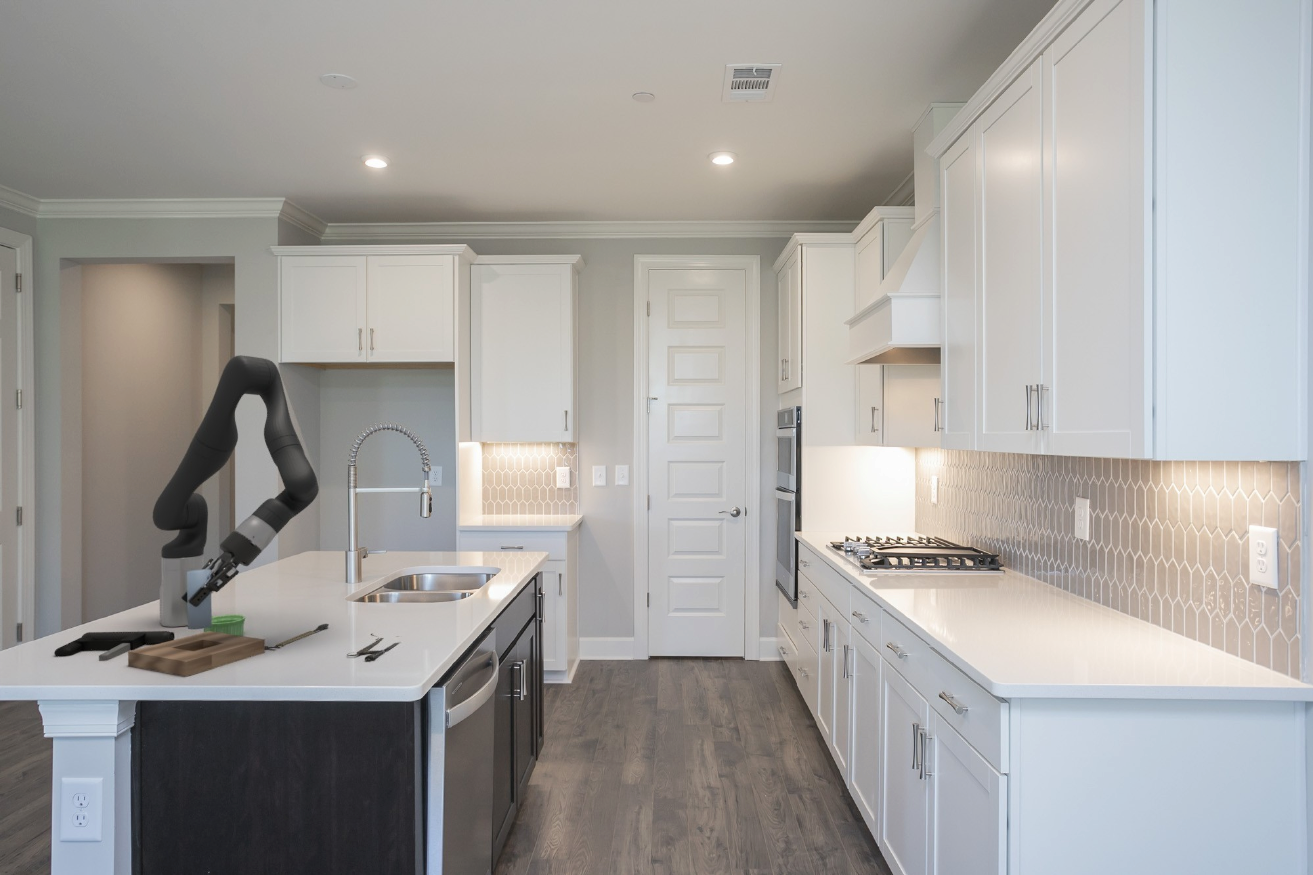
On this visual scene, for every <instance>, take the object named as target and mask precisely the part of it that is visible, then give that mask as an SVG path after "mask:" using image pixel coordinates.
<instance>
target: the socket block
mask: <svg viewBox="0 0 1313 875" xmlns="http://www.w3.org/2000/svg"><path fill="white" fill-rule="evenodd" d="M265 640H266V639H264V638H258V637H251V636H244V635H242V636H238V635H232V634H225V633H218V632H211V631H208V632H204V631H203V632H200V633H197V634H193V635H188V636H185V637H181V638H177V639H174V640H172V641H168V642H164V643H160V644H151V645H148V646H145V647H144V646H143V647H139V648H137V649H135V650H130V651H128V652H127V655H128V658H127V666H128V667H132V668H137V669H143V670H148V671H149V670H150V671H153V672H159V673H165V674H169V675H175V676H180V677H190V676H192V675H196V674H200V673H203V672H207V671H209V670H213V669H215V668H218V667H222V666H225V665H228V664H232V663H235V662H240V661H243V660H247V659H248V658H249V659H250V658H252V657H255V656H259V655H262V654H265V651H266V650H265V646H266V644H265V642H266V641H265Z"/></svg>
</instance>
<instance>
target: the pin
mask: <svg viewBox="0 0 1313 875" xmlns="http://www.w3.org/2000/svg"><path fill="white" fill-rule="evenodd" d="M210 572H211V570H210V569H201V570H192V571H188V572H187V599H188V600H189V599H190V598H191V597H192V596H193V595H194V594H195V593H196V592H197V590H198V589H199V588H200V587H202V585H203V584H204V583H205V582H206V580H207V579H208V574H209V573H210ZM202 588H203V587H202ZM212 611H213V610H212V594H211V593H210V594H209V595H208V596H207V597H206V598H205V599H204V600H203V602H202V603H201V604H200V605H199V606H198V607H194V606H193V605H191V604H190V603H189V602H188V625H187V630H200V629H201V630H202V629H203V630H204V628H208V627H210V626H212V617H213V614H212V613H213V612H212Z"/></svg>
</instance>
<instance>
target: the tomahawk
mask: <svg viewBox="0 0 1313 875" xmlns="http://www.w3.org/2000/svg"><path fill="white" fill-rule="evenodd" d="M328 627H329V623H323V624H320V625H318V626H317V627H316V628H315V629H314V630H309V631H306V632H304V633H301V634H300V635H299V634H298V635H297V636H294V637H292V638H289V639H287V640H284V641H282V642H280V643H277V644H275V645H274V646H269V645H268V646H267V645H265V651H271V652H272V651H273V652H274V651H276V649H281V648H283V647H285V646H286V645H288V644H291V643H294V642H296V641H298V640H301V639H305V638H307V637H309V636H312V635H314V634H317V633H319V632H322V631H323V630H324V629H326V628H328Z"/></svg>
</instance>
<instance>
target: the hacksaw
mask: <svg viewBox="0 0 1313 875" xmlns="http://www.w3.org/2000/svg"><path fill="white" fill-rule="evenodd" d="M370 636H371V637H375V635H374V633H370ZM396 637H397V638H398V637H401V636H399V635H398V636H396ZM383 640H384V637H378V638H376V639H375V641H373V642H372V643H370V644H369V645H367V646H365V647H363V648H361V649H360V650H358V651H357V652H356V654H353V653H355V652H354V651H353V652H352V654H351V652H349V653H347V654H346V656H348V657H356V656H361V655H366V656H365V657H364V661H365V662H374V661H376V659H378V658H380V656H382V655H384V654H385V653H386V652H388V651H389V650H390V649H393V648H394V647H396V646H397V645H399V644H401V641H399V642H394V643H392V644H390V645H389V646H387V647H386V648H384V649H381V650H371V649H372V648H374V647H375V646H377V645H378V644H379V643H380V642H382V641H383ZM368 654H369V655H368Z"/></svg>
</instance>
